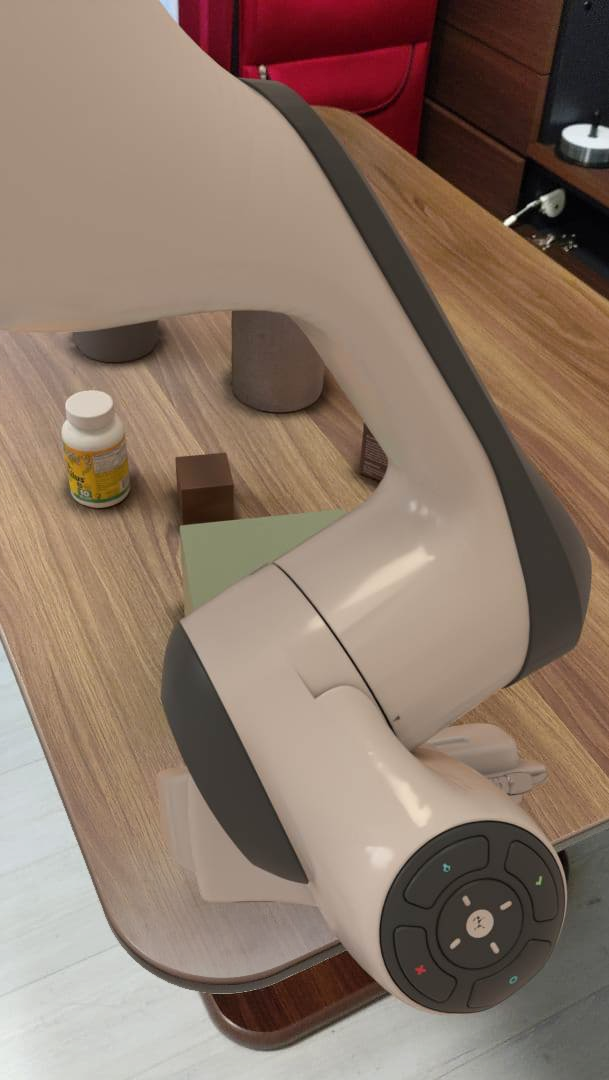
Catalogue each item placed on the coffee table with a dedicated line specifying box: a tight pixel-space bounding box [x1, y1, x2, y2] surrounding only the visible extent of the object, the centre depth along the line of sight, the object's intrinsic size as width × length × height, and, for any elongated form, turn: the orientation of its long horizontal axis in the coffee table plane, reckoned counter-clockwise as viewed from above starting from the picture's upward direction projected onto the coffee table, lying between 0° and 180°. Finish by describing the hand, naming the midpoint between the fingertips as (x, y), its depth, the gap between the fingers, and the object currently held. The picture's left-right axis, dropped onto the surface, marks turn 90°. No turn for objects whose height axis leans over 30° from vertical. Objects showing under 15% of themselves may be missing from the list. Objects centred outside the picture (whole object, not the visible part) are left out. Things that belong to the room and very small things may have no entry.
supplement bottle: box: [61, 389, 131, 509], centre depth 85 cm, size 5×5×10 cm
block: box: [174, 452, 235, 526], centre depth 86 cm, size 4×4×4 cm
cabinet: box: [179, 508, 349, 617], centre depth 71 cm, size 14×13×10 cm
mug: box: [73, 320, 159, 363], centre depth 104 cm, size 14×9×12 cm
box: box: [359, 422, 388, 482], centre depth 90 cm, size 6×6×7 cm
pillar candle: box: [230, 310, 326, 413], centre depth 96 cm, size 10×10×15 cm
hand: (314, 758), depth 62 cm, fingers open, 8 cm apart
